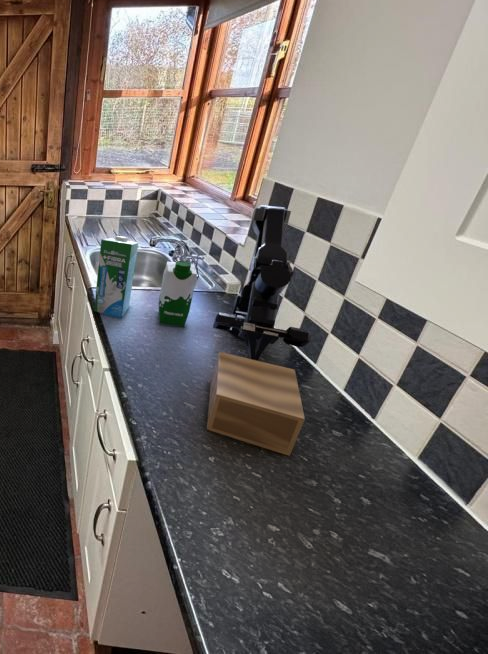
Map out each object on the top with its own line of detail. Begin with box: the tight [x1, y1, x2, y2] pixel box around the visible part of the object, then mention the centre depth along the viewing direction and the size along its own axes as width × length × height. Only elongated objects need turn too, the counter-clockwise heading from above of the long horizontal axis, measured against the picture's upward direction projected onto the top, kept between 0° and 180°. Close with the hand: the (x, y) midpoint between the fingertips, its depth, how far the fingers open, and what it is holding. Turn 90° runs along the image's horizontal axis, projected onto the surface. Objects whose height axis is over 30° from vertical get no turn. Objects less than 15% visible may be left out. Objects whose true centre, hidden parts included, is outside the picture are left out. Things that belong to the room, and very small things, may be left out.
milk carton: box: [93, 235, 139, 319], centre depth 128 cm, size 9×9×25 cm
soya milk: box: [158, 260, 198, 328], centre depth 122 cm, size 9×9×20 cm
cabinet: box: [206, 351, 306, 457], centre depth 87 cm, size 17×15×10 cm
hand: (253, 364), depth 94 cm, fingers closed
